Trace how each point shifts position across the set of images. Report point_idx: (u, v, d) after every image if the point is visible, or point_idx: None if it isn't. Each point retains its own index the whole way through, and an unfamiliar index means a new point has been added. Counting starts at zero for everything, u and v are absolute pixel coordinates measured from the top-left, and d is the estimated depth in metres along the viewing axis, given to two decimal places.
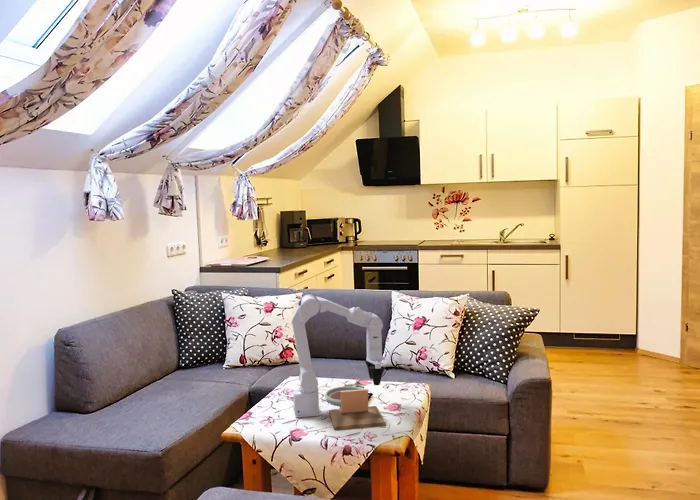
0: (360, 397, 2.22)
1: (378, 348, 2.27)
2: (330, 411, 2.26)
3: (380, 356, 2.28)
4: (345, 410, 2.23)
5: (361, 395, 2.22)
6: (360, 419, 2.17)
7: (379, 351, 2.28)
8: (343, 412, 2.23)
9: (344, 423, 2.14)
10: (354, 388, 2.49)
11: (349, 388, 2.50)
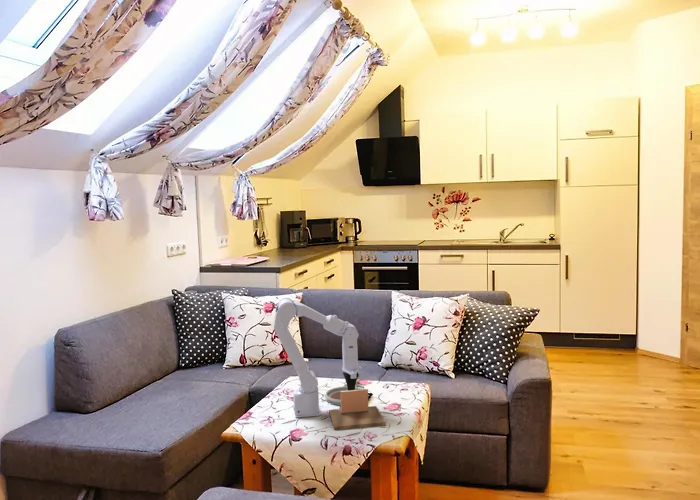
0: (360, 397, 2.22)
1: (354, 358, 2.26)
2: (330, 411, 2.26)
3: (356, 366, 2.27)
4: (345, 410, 2.23)
5: (361, 395, 2.22)
6: (360, 419, 2.17)
7: (355, 361, 2.26)
8: (343, 412, 2.23)
9: (344, 423, 2.14)
10: None
11: None
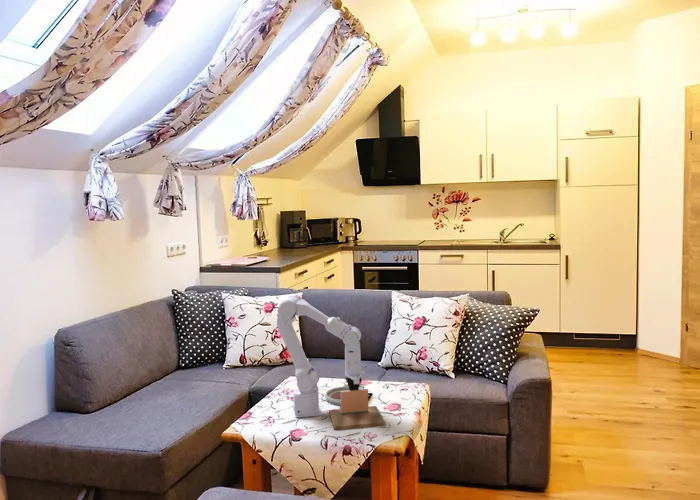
0: (360, 397, 2.22)
1: (357, 363, 2.20)
2: (330, 411, 2.26)
3: (359, 371, 2.21)
4: (345, 410, 2.23)
5: (361, 395, 2.22)
6: (360, 419, 2.17)
7: (358, 366, 2.20)
8: (343, 412, 2.23)
9: (344, 423, 2.14)
10: None
11: None
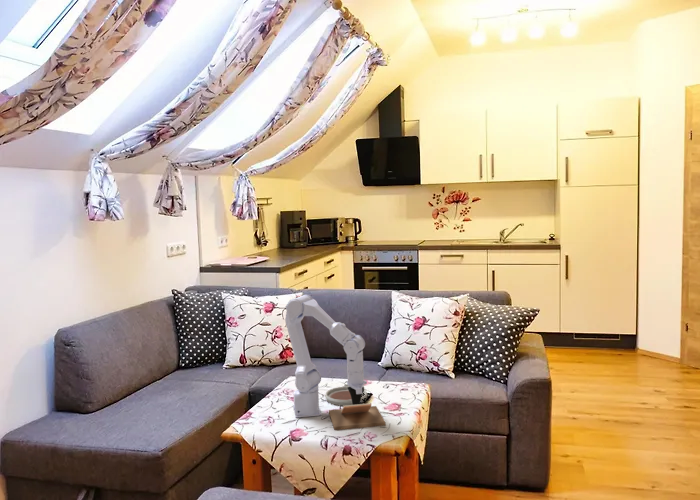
0: (362, 408, 2.19)
1: (359, 372, 2.16)
2: (330, 411, 2.26)
3: (361, 380, 2.17)
4: (345, 412, 2.22)
5: (363, 407, 2.18)
6: (360, 419, 2.17)
7: (360, 375, 2.16)
8: (343, 413, 2.23)
9: (344, 423, 2.14)
10: None
11: None
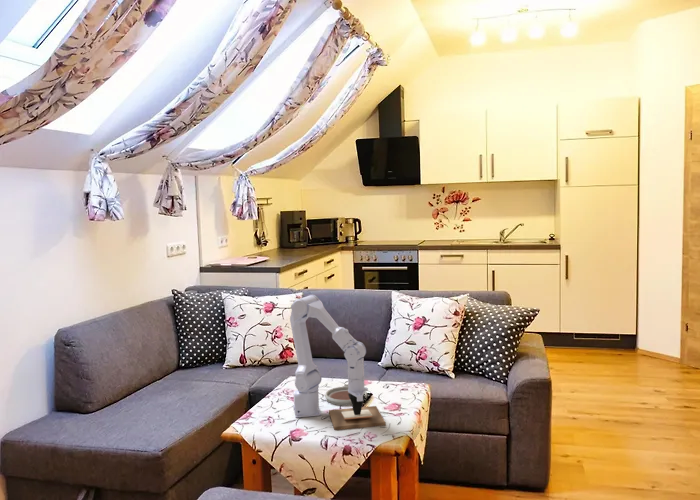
0: None
1: (360, 379, 2.14)
2: (330, 411, 2.26)
3: (362, 387, 2.15)
4: None
5: None
6: (360, 419, 2.17)
7: (361, 382, 2.15)
8: None
9: (344, 423, 2.14)
10: None
11: None
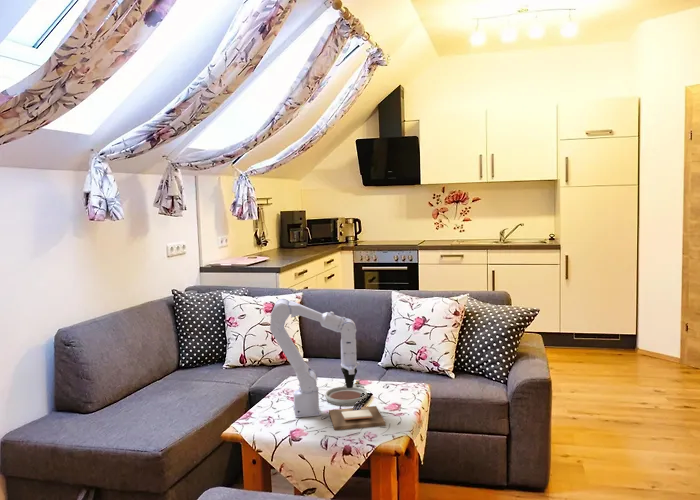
0: None
1: (352, 353, 2.24)
2: (330, 411, 2.26)
3: (354, 362, 2.25)
4: None
5: None
6: (360, 419, 2.17)
7: (353, 356, 2.24)
8: None
9: (344, 423, 2.14)
10: (354, 388, 2.49)
11: (349, 388, 2.50)
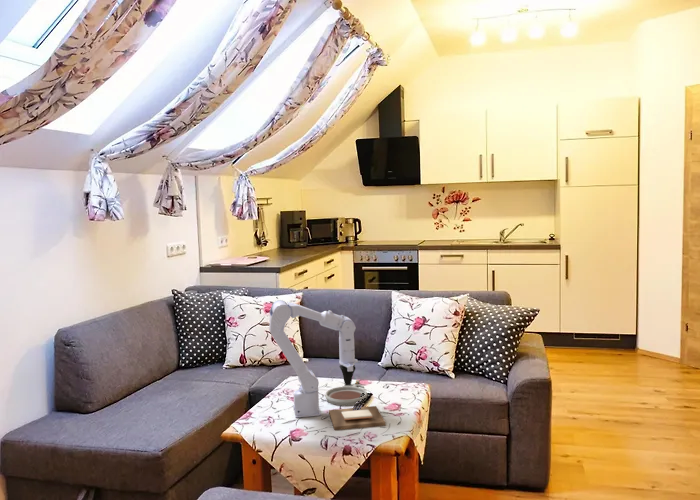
0: None
1: (350, 351, 2.27)
2: (330, 411, 2.26)
3: (353, 359, 2.28)
4: None
5: None
6: (360, 419, 2.17)
7: (352, 354, 2.27)
8: None
9: (344, 423, 2.14)
10: (354, 388, 2.49)
11: (349, 388, 2.50)
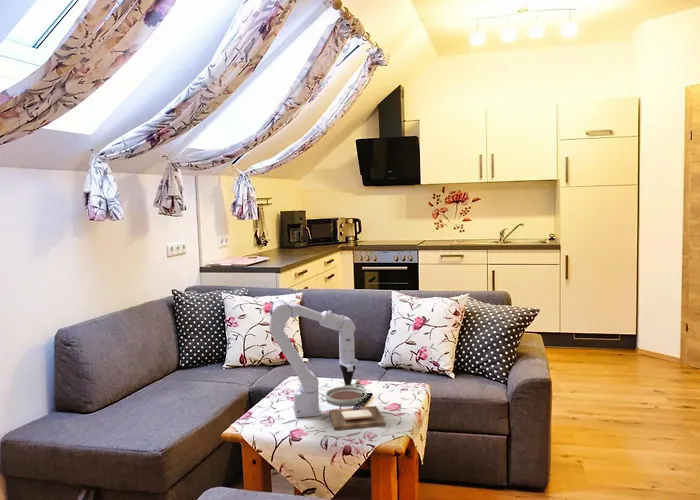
0: None
1: (350, 351, 2.27)
2: (330, 411, 2.26)
3: (353, 359, 2.28)
4: None
5: None
6: (360, 419, 2.17)
7: (352, 354, 2.27)
8: None
9: (344, 423, 2.14)
10: (354, 388, 2.49)
11: (349, 388, 2.50)
